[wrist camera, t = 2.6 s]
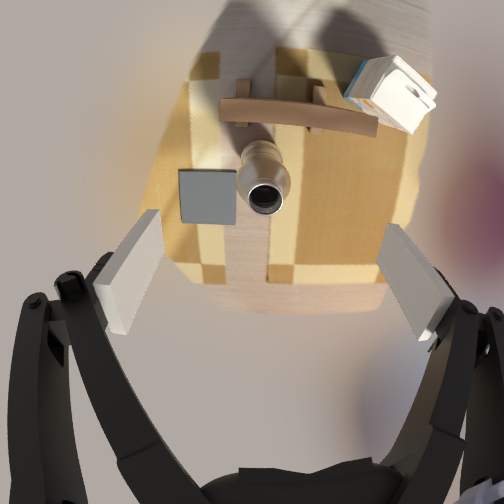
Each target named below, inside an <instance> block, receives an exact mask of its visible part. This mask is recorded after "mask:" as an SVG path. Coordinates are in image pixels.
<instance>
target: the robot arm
mask: <svg viewBox="0 0 504 504" xmlns="http://www.w3.org/2000/svg"><path fill="white" fill-rule="evenodd" d="M164 252H165V251H164V243H163V235H162V227H161V218H160V210H157V209H147V210H146V211H145V213H144V214H143V215H142V216H141V218H140V219H139V220H138V221H137V223H136V224H135V225H134V227H133V228H132V229H131V231H130V232H129V233H128V234H127V236H126V237H125V238H124V240H123V241H122V242H121V244H120V245H119V247H118V248H117V249H116V251H115V252H108V253H106V254H105V255H103V256H102V257H101V258H100V259H99V260H98V262H97V263H96V265H95V266H94V267H93V269H92V271H90V273H89V274H88V276H87V277H86V278H85V280H84V277H83V275H82V274H81V272H79V271H68V272H65V273H63V274H61V275H60V276H59V277H58V278H57V279H56V281H55V282H54V287H55V290H56V292H57V294H58V296H59V299H60V300H54V301H49V300H48V298H47V296H46V295H45V294H44V293H42V292H38V293H34V294H32V295H30V296H29V297H28V298H27V299H26V300H25V301H24V303H23V306H22V310H21V314H20V318H19V323H18V328H17V332H16V338H15V344H14V349H13V356H12V363H11V371H10V380H9V392H8V417H7V426H8V450H9V463H10V472H11V480H12V481H11V489H10V499H9V504H88V500H87V495H86V490H85V485H84V482H83V478H82V473H81V469H80V464H79V459H78V454H77V449H76V443H75V437H74V430H73V422H72V413H71V402H70V389H69V366H68V365H69V363H68V362H69V361H68V360H69V359H68V350H69V349H68V348H69V347H68V346H69V345H72V349H73V352H74V356H75V359H76V362H77V365H78V368H79V371H80V374H81V377H82V380H83V383H84V385H85V388H86V391H87V394H88V396H89V398H90V401H91V403H92V406H93V408H94V411H95V413H96V416H97V418H98V420H99V422H100V425H101V427H102V429H103V431H104V433H105V435H106V437H107V439H108V441H109V443H110V445H111V447H112V449H113V451H114V453H115V455H116V457H117V466H118V469H119V471H120V472H121V474H122V476H123V478H124V479H125V481H126V483H127V485H128V486H129V488H130V489H131V491H132V492H133V494H134V496H135V497H136V499H137V500H138V502H139V503H140V504H443V503H444V500H445V498H446V496H447V494H448V491H449V489H450V487H451V484H452V482H453V479H454V477H455V474H456V471H457V468H458V466H459V463H460V460H461V457H462V454H463V451H464V456H463V463H462V470H461V479H460V498H459V500H458V501H456V502H454V504H504V314H503V313H502V311H501V310H500V309H497V308H495V307H490V308H489V310H488V311H487V313H486V314H482V313H479V312H478V310H477V308H476V307H475V306H474V305H473V304H472V303H471V302H469V301H467V300H460V298H459V297H458V295H457V294H456V292H455V291H454V290H453V288H452V287H451V285H449V283H448V281H447V280H445V277H444V276H443V275H442V273H441V272H440V271H438V270H437V269H436V268H435V267H433V266H432V265H431V263H430V262H429V261H428V259H427V258H426V257H425V256H424V255H423V253H422V252H421V251H420V249H419V248H418V247H417V246H416V245H415V244H414V242H413V241H412V240H411V239H410V237H409V236H408V235H407V234H406V233H405V232H404V230H403V229H402V228H401V227H400V226H399V225H398V224H391V223H388V224H387V228H386V231H385V234H384V238H383V241H382V244H381V248H380V251H379V254H378V257H377V260H376V263H377V265H378V266H379V268H380V270H381V271H382V273H383V275H384V277H385V279H386V280H387V282H388V284H389V286H390V288H391V289H392V291H393V293H394V295H395V297H396V299H397V301H398V303H399V304H400V306H401V308H402V310H403V312H404V314H405V316H406V318H407V320H408V322H409V324H410V326H411V328H412V330H413V333H414V335H415V336H416V339H417V341H422V340H429V339H430V338H431V336H432V335H433V333H434V331H436V333H437V335H438V337H437V338H436V340H435V341H434V343H433V344H432V346H431V347H430V348H429V350H428V352H430V351H431V350H432V352H431V355H430V358H429V361H428V364H427V367H426V370H425V373H424V376H423V379H422V381H421V384H420V387H419V389H418V392H417V395H416V397H415V400H414V402H413V405H412V407H411V409H410V412H409V414H408V416H407V418H406V421H405V423H404V425H403V427H402V429H401V431H400V433H399V435H398V437H397V439H396V441H395V443H394V445H393V447H392V449H391V451H390V452H389V454H388V455H387V456H386V457H385V458H384V459H383V460H382V462H381V463H380V464H376V463H372V458H371V457H368V458H363V459H358V460H352V461H346V462H342V463H339V464H336V465H334V466H331V467H328V468H326V469H323V470H320V471H317V472H314V473H311V474H305V473H298V472H292V471H286V470H281V469H276V468H239V472H238V473H234V474H229V475H225V476H222V477H220V478H217V479H215V480H213V481H211V482H209V483H207V484H206V485H204V486H203V487H201V488H200V487H198V485H197V484H196V483H195V481H194V480H193V479H192V478H191V476H190V475H189V474H188V473H187V471H186V470H185V469H184V468H183V466H182V465H181V464H180V463H179V461H178V460H177V458H176V457H175V456H174V454H173V453H172V452H171V450H170V449H169V447H168V446H167V444H166V443H165V441H164V440H163V438H162V437H161V435H160V434H159V432H158V431H157V429H156V428H155V426H154V424H153V423H152V421H151V420H150V418H149V417H148V415H147V413H146V411H145V410H144V408H143V406H142V405H141V403H140V401H139V399H138V398H137V396H136V394H135V392H134V390H133V389H132V387H131V385H130V383H129V381H128V379H127V377H126V376H125V373H124V371H123V369H122V367H121V366H120V363H119V361H118V359H117V357H116V356H115V353H114V351H113V348H112V346H111V344H110V342H109V339H108V337H107V335H106V333H105V329H106V327H107V324H108V325H109V327H110V330H111V332H112V333H117V334H123V335H127V333H128V331H129V328H130V326H131V324H132V322H133V319H134V317H135V315H136V312H137V310H138V308H139V305H140V303H141V301H142V298H143V296H144V294H145V292H146V290H147V287H148V285H149V283H150V281H151V279H152V277H153V274H154V272H155V270H156V268H157V266H158V264H159V262H160V260H161V258H162V256H163V254H164ZM488 348H489V352H488V354H486V350H487V349H488ZM466 409H467V414H466V434H465V440H464V439H461V438H460V432H461V428H462V424H463V421H464V417H465V413H466Z"/></svg>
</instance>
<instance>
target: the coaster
mask: <svg viewBox="0 0 504 504" xmlns="http://www.w3.org/2000/svg"><path fill="white" fill-rule="evenodd" d="M236 176H237V172H223V171H179V181H180V200H181V216H182V223H194V224H219V225H235V220H236Z"/></svg>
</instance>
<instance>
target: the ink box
mask: <svg viewBox="0 0 504 504" xmlns="http://www.w3.org/2000/svg"><path fill="white" fill-rule="evenodd" d="M436 95H437V92H436V91H435V90H434V89H433V88H432V87H431V86H430V85H429V84H428V83H427V82H426V81H425V80H424V79H423V78H422V77H421V76H420V75H419V74H418V73H417V72H416V71H415V70H414V69H413V68H412V67H410V66H409V65H408V64H407V63H406V62H405V61H404V60H402V59H401V58H400V57H399V56H398V55H390V56H385V57H380V58H374V59H369V60H364V61H363V62H362V64H361V65H360V67H359V69H358V71H357V72H356V74H355V76H354V78H353V79H352V81H351V82H350V84H349V86H348V88H347V89H346V91H345V93H344V95H343V97H344V98H345V99H347V100H348V101H350V102H351V103H353V104H354V105H355V106H357V107H358V108H360V109H361V110H363V111H364V112H365V113H367V114H368V115H372V116H376V117H379V119H378V122H379V123H381V124H384V125H387V126H391V127H393V128H396V129H399V130H402V131H405V132H408V133H410V134H412V135H413V134H414V132H415V131H416V129H417V127H418V126H419V124H420V123H421V121H422V119H423V117H424V116H425V114H426V113H427V112H429V111H430V110H432V109H433V108H435V107H436V104H435V103H434V102H433V100H434V99H435V97H436Z"/></svg>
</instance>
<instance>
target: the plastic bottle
mask: <svg viewBox="0 0 504 504" xmlns="http://www.w3.org/2000/svg"><path fill="white" fill-rule="evenodd" d="M241 163H242V166H241V167H240V169H239V171H238V173H237V176H236V188H237V191H238V193H239V195H240V196H241V198H242V199H243V200H244V201H245V202H246V203H248V205H249V207H250V209H251V210H252V211H253V212H255V213H256V214H258V215H262V216H270V215H273V214H275V213H277V212H278V211H279V210H280V209H281V207H282V204H283V201H284V200H285V198H286V197H287V195H288V194H289V191H290V187H291V180H290V176H289V173H288V171H287V170H286V168H285V167H284V166H283V156H282V153H281V151H280V150H279V148H278V147H277V146H276V145H274V144H273V143H271V142H269V141H265V140H257V141H254V142H251V143H250V144H248V145H247V146H246V147H245V148H244V150H243V152H242V155H241Z"/></svg>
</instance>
